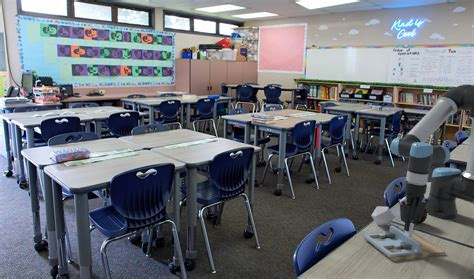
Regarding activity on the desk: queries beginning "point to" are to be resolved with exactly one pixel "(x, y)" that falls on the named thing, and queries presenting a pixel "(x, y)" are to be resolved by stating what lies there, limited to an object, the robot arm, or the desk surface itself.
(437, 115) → the robot arm
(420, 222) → the toy
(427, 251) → the board
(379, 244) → the panel
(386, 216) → the die
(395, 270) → the desk surface
